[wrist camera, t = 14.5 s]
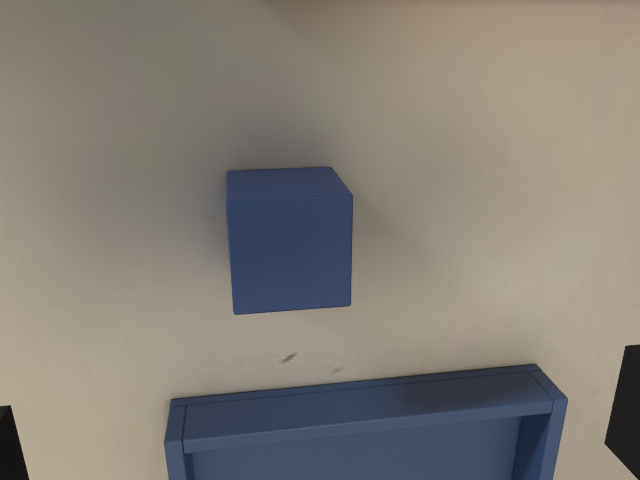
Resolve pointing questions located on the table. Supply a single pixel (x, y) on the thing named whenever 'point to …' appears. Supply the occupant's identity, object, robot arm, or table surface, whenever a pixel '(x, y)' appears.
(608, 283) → the table surface
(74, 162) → the table surface
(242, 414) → the blue tray
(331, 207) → the blue block
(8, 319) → the table surface
